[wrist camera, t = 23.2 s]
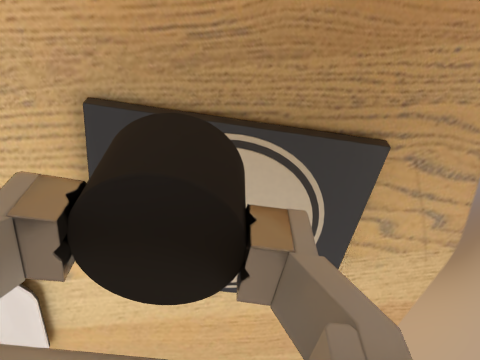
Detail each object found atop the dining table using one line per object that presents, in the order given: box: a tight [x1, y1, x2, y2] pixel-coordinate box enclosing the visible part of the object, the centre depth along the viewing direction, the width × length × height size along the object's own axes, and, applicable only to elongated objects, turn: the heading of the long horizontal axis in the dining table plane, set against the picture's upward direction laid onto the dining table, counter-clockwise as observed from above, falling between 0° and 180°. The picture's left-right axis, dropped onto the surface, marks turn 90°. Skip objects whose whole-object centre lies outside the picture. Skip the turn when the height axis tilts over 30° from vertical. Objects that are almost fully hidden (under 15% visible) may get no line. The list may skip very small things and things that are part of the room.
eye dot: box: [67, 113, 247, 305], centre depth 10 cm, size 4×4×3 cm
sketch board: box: [83, 98, 391, 293], centre depth 28 cm, size 20×16×1 cm
